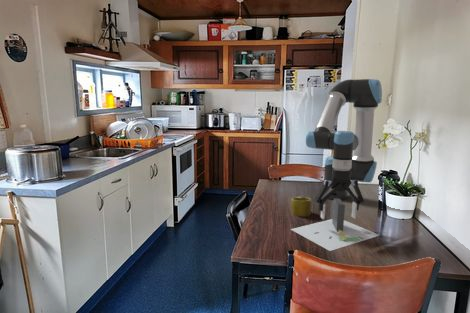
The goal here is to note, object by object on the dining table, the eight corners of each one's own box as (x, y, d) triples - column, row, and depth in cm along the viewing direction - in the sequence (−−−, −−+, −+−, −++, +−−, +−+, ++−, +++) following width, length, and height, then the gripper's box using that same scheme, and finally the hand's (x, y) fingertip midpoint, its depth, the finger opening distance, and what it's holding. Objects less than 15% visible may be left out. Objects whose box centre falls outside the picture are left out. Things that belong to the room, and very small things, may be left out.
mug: (315, 216, 148) (309, 195, 148) (293, 221, 150) (287, 200, 151) (315, 212, 159) (310, 192, 160) (295, 217, 162) (289, 197, 163)
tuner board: (337, 219, 150) (337, 217, 149) (379, 237, 131) (380, 234, 131) (290, 231, 136) (290, 228, 135) (329, 253, 117) (329, 250, 117)
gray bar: (332, 222, 143) (333, 198, 141) (338, 222, 142) (340, 198, 140) (341, 240, 125) (343, 213, 123) (348, 240, 125) (350, 213, 123)
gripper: (315, 171, 129) (312, 221, 133) (375, 170, 131) (370, 220, 135) (309, 167, 136) (306, 215, 140) (366, 166, 138) (362, 214, 142)
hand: (338, 217), depth 137 cm, fingers open, 13 cm apart
